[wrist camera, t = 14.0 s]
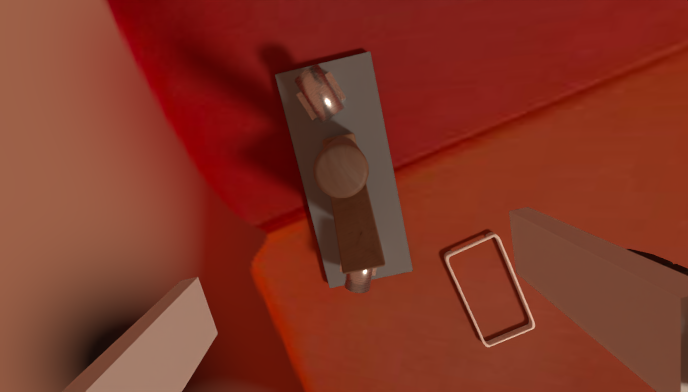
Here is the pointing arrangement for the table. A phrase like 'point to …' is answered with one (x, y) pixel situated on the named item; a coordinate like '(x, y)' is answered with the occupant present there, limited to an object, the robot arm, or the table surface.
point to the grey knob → (359, 280)
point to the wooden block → (349, 202)
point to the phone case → (531, 321)
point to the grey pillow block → (319, 94)
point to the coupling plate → (372, 141)
